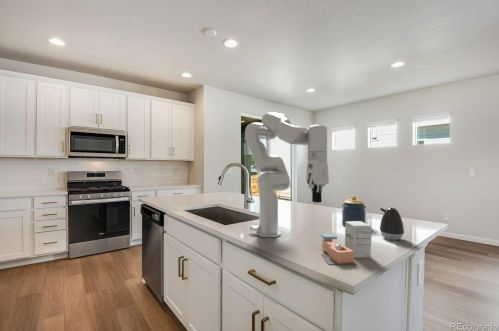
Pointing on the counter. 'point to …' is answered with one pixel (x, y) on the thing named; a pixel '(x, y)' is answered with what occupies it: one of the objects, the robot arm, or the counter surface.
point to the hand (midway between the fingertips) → (316, 202)
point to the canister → (353, 210)
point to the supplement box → (358, 238)
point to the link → (338, 252)
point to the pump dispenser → (391, 224)
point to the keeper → (328, 236)
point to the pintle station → (331, 261)
